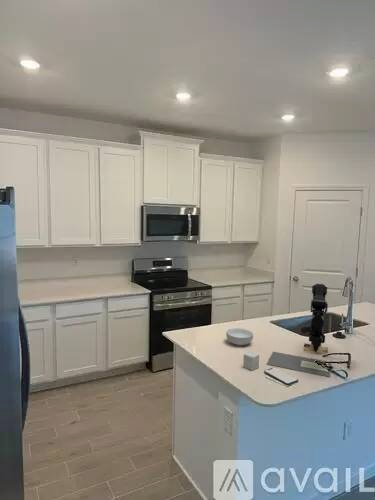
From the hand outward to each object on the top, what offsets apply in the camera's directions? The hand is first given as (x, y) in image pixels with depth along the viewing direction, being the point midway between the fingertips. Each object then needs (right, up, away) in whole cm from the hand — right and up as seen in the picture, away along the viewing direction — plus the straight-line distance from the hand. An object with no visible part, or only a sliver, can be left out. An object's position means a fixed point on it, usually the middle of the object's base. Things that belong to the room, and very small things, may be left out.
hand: (315, 349), depth 184 cm
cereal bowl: (-36, -6, +33) cm, 49 cm away
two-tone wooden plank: (0, -1, 0) cm, 1 cm away
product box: (-35, -9, -2) cm, 37 cm away
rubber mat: (-8, -9, +4) cm, 12 cm away
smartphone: (-22, -11, -12) cm, 27 cm away
